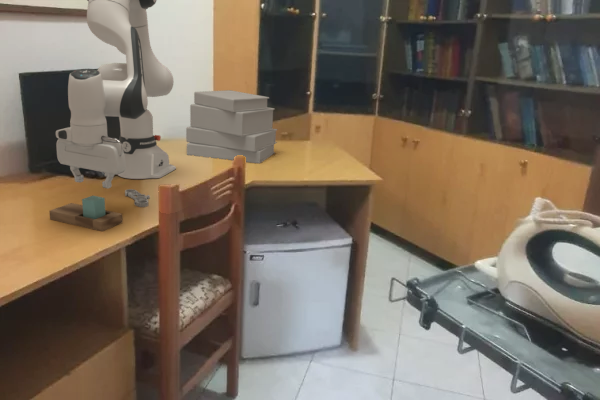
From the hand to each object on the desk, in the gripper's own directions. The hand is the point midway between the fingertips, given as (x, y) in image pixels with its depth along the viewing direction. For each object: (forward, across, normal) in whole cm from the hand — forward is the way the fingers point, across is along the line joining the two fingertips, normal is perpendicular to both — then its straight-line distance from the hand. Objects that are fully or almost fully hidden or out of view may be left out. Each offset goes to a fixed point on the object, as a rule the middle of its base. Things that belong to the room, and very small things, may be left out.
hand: (93, 184), depth 145 cm
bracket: (+12, +3, -22) cm, 25 cm away
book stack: (+13, +10, -94) cm, 95 cm away
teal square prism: (+11, 0, +1) cm, 11 cm away
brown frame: (+11, +3, +1) cm, 11 cm away
